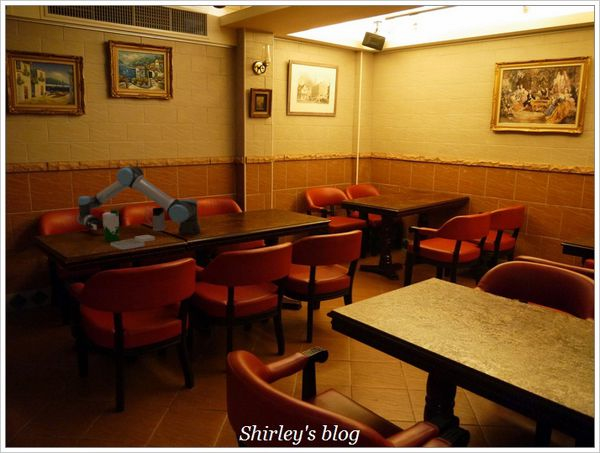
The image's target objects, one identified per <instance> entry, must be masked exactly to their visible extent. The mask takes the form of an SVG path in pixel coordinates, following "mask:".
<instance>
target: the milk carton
mask: <svg viewBox="0 0 600 453" xmlns="http://www.w3.org/2000/svg"><path fill="white" fill-rule="evenodd" d="M119 219H120V218H119V212H118V209H110V211H108V212H107V211H106V212H104V213H103V214H102V220H103V225H102V226H103V236H104V242H106V243H111V242H116V241H120V220H119Z"/></svg>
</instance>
